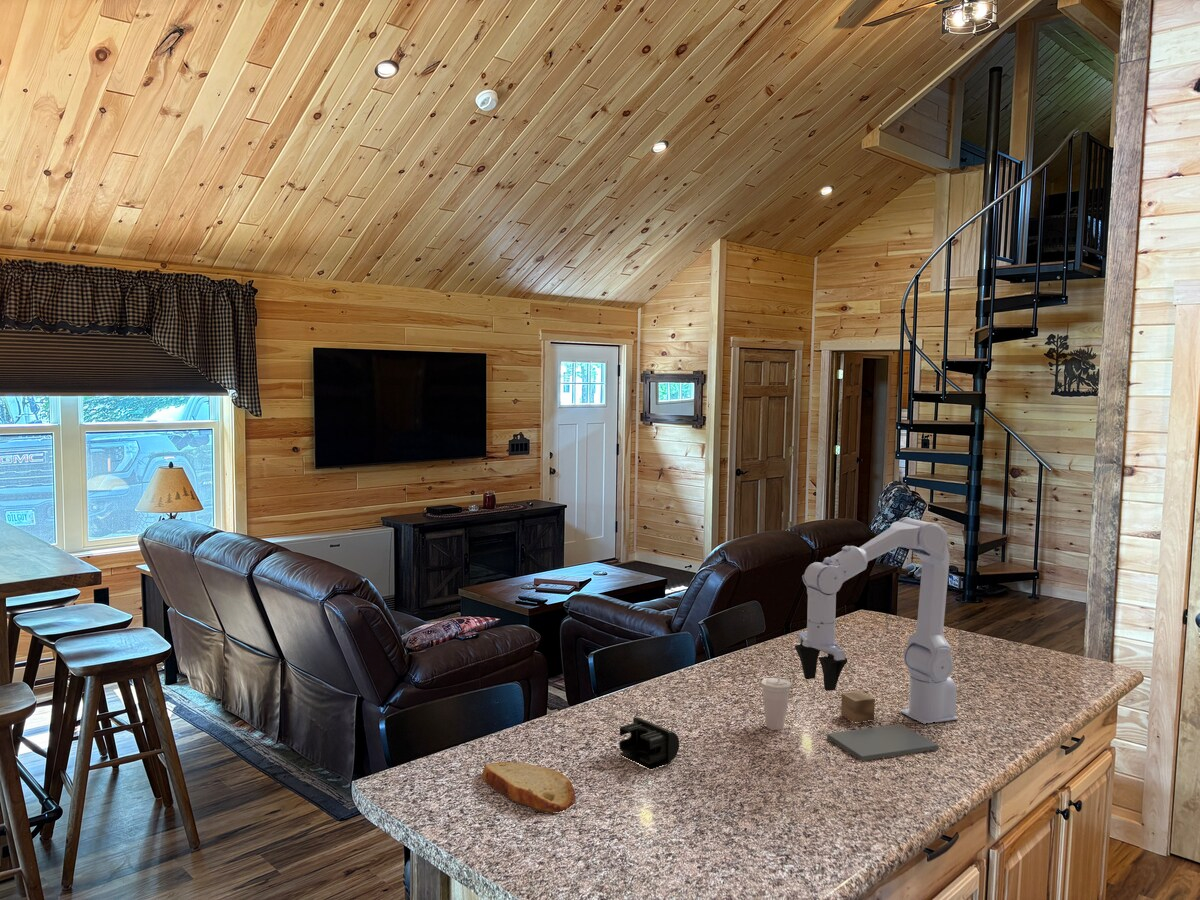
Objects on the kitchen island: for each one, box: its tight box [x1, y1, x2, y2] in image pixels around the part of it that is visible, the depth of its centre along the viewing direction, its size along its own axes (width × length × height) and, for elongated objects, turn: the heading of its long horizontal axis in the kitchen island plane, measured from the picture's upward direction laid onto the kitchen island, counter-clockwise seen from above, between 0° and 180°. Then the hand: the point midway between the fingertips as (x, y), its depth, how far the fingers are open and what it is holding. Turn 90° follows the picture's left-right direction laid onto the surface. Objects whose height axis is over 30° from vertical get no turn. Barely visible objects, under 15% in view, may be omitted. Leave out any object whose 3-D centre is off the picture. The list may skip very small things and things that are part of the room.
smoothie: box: [760, 661, 792, 731], centre depth 191 cm, size 6×6×14 cm
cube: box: [840, 691, 876, 724], centre depth 197 cm, size 5×5×5 cm
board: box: [826, 723, 939, 762], centre depth 183 cm, size 18×12×1 cm, turn 109°
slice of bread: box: [480, 761, 576, 814], centre depth 160 cm, size 18×18×4 cm
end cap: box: [619, 716, 680, 769], centre depth 175 cm, size 10×7×7 cm
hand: (819, 684), depth 189 cm, fingers open, 7 cm apart
